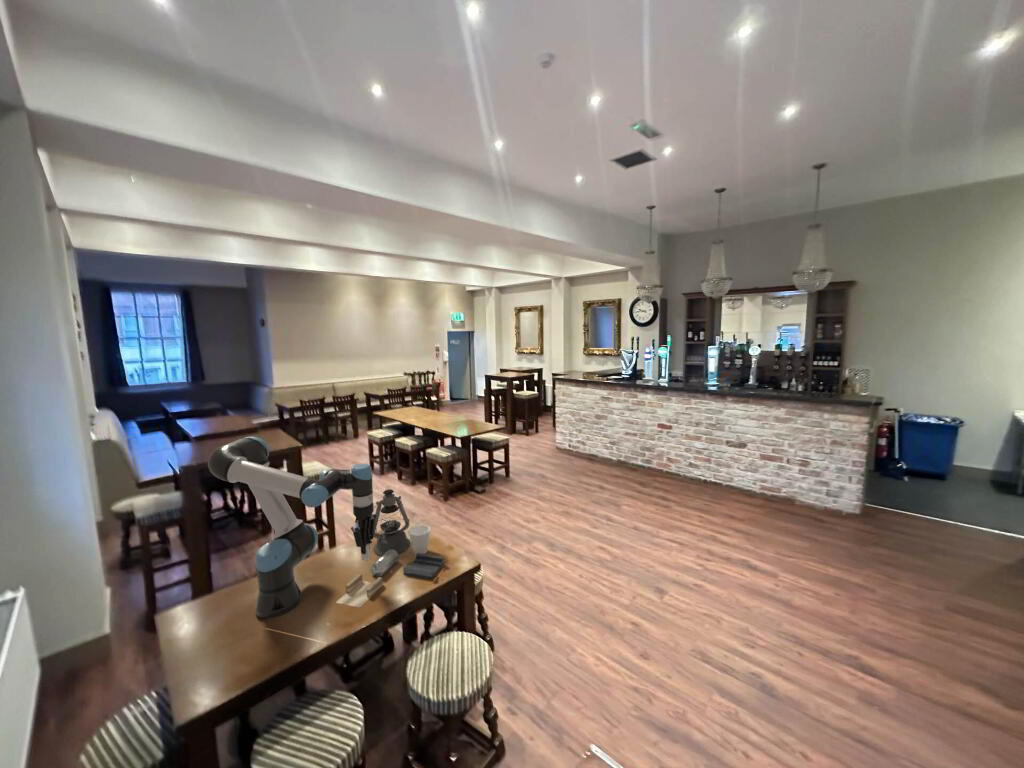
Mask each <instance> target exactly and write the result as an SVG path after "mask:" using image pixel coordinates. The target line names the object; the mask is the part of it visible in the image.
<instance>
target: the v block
mask: <svg viewBox="0 0 1024 768" xmlns="http://www.w3.org/2000/svg"><path fill="white" fill-rule="evenodd" d="M414 556H415V557H414V559H412V562H411V564H410V565H404V566H403V567H402V570H403V571H402V572H403V575H404V576H409V577H410V576H411V577H417V578H422V579H427V580H432V579H433V578H434V577H435V576H436V574H437V573H438V572H439V571H440V569H441V568H443V567H444V566H445V557H444V556H439V555H433V554H426V553H425V554H420V553H417V554H416V555H415V554H414Z"/></svg>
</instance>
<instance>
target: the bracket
mask: <svg viewBox="0 0 1024 768" xmlns="http://www.w3.org/2000/svg"><path fill="white" fill-rule="evenodd" d="M382 586H383V577H382V576H381V577H377V578H376V580H374V581H373V582H370V581H366V580H363V574H362V573H358V574H357V575H356V576H355V577H354V578H352V579H351V580H350V581H349V582H348V583H347V584H346V585H345V593H344V594H343V595H342V596H341V597H340V598H339V599H338V600H337V601H335V603H336V604H340V605H345V606H349V607H354V608H358V609H359V608H362V607H363V606H364V605H365V603H366V602H367V601H369V600H370V599H371V597H372V596H373V595H374V594H375V593H377V591H378V590H380V589H381V587H382Z"/></svg>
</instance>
